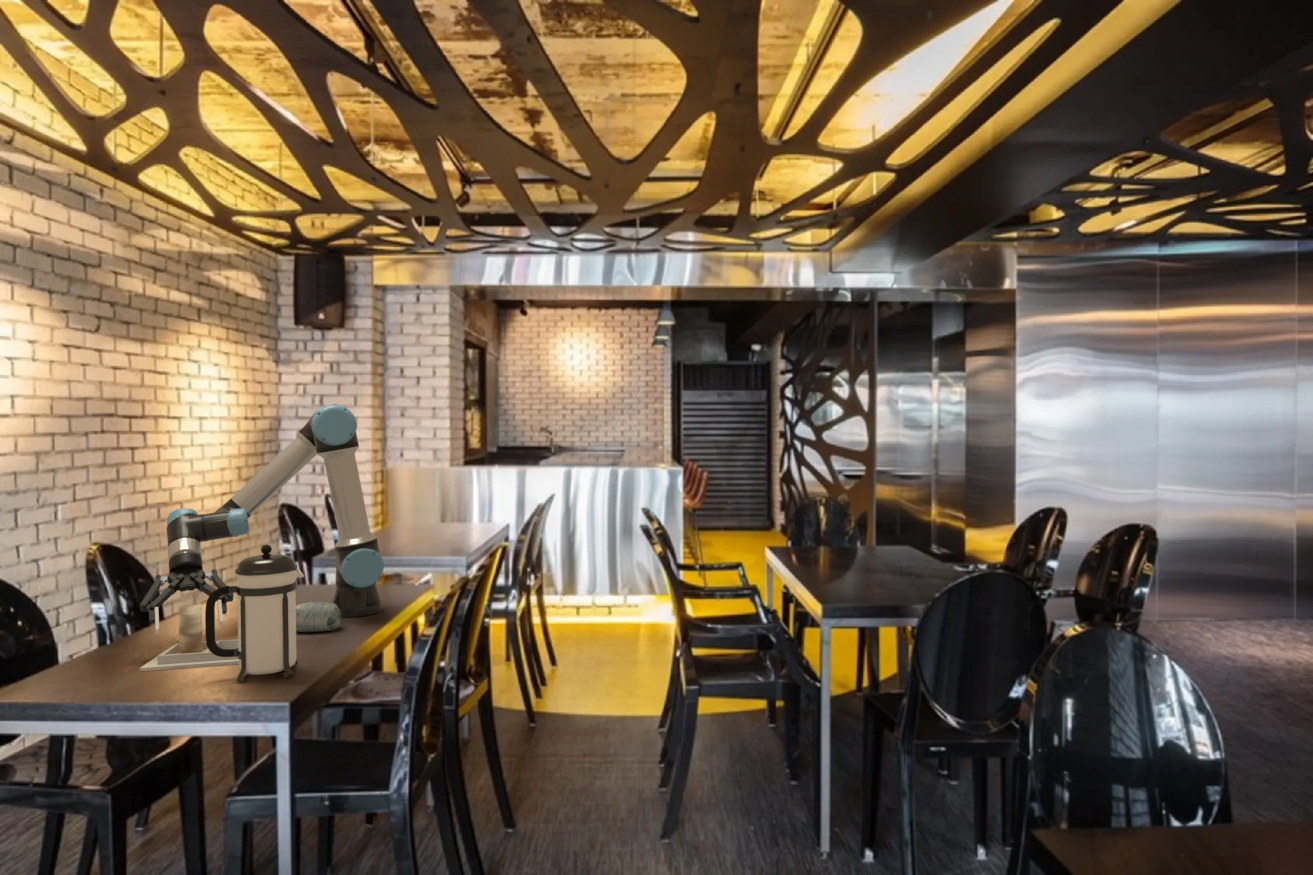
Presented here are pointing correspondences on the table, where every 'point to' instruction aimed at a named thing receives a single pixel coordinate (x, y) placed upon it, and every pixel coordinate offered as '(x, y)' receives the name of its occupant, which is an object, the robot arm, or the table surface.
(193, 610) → the peg
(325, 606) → the yarn ball
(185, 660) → the white flat tray
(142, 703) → the table surface
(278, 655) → the coffee press
